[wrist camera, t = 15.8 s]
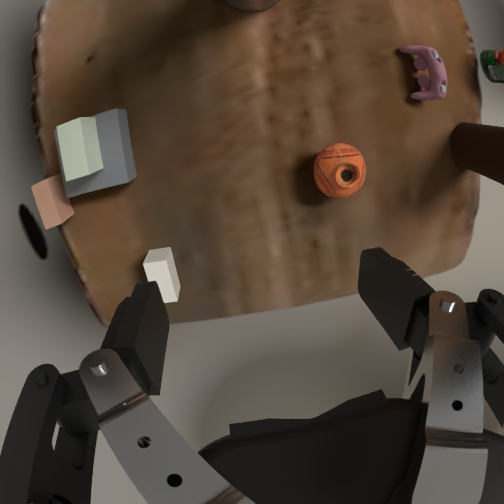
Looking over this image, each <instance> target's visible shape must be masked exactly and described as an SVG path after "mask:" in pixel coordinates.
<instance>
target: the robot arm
mask: <svg viewBox="0 0 504 504" xmlns="http://www.w3.org/2000/svg"><path fill="white" fill-rule="evenodd" d="M224 1H225V2H226V3H228V4H229V5H231V6H233V7H235V8H237V9H240V10H245V11H261V10H265V9H268V8H270V7H273V6H274V5H275V4H277V3H278V2H279V0H224ZM358 291H359V294H360V297H361V298H362V300H363V301H364V302H365V304H366V305H367V306H368V308H369V309H370V310H371V312H372V313H373V315H374V316H375V317H376V319H377V320H378V321H379V323H380V324H381V326H382V327H383V328H384V330H385V331H386V332H387V334H388V335H389V337H390V338H391V340H392V341H393V342H394V344H395V345H396V346H397V348H398V350H399V351H400V350H403V349H406V348H408V347H411V348H412V349H413V350H412V353H411V356H410V362H409V368H408V374H407V380H406V385H405V391H404V395H403V398H386V396H385V395H384V393H383V391H382V389H381V390H378V391H375V392H372V393H369V394H366V395H363V396H360V397H357V398H354V399H350V400H348V401H346V402H344V403H342V404H340V405H338V406H337V407H335V408H333V409H331V410H329V411H327V412H325V413H323V414H321V415H320V416H317V417H315V418H312V419H263V420H257V421H250V422H243V423H236V424H235V423H234V424H229V427H230V435H227V436H225V437H222V438H220V439H217V440H215V441H213V442H212V443H210V444H208V445H207V446H205V447H204V448H202V449H201V450H200V451H199V452H198V453H197V452H196V451H195V450H194V449H193V448H192V447H191V446H190V444H189V443H188V442H187V441H186V440H185V439H184V438H183V437H182V436H181V435H180V434H179V432H178V431H177V430H176V429H175V428H174V427H173V426H172V424H171V423H170V422H169V421H168V420H167V419H166V417H165V416H164V415H163V414H162V412H161V411H160V410H159V409H158V408H157V406H156V405H155V404H154V403H153V401H152V400H151V399H150V397H149V395H160V389H161V381H162V373H163V366H164V358H165V352H166V345H167V338H168V333H169V318H168V314H167V311H166V308H165V305H164V302H163V298H162V295H161V292H160V289H159V286H158V283H157V282H156V281H149V282H141V283H137V284H136V285H135V288H134V290H133V293H132V295H131V297H126V298H125V299H124V300H123V301H122V302H121V303H120V304H119V305H118V307H117V309H116V311H115V314H114V317H113V318H112V321H111V324H110V326H109V328H108V331H107V333H106V336H105V338H104V340H103V343H102V346H101V348H100V349H99V350H96V351H93V352H92V353H90V354H88V355H87V356H86V357H85V358H84V359H83V360H82V362H81V364H80V366H79V370H75V371H72V372H68V373H64V374H60V373H59V371H58V370H57V368H56V367H55V366H54V365H51V364H43V365H40V366H38V367H36V368H35V369H34V370H32V371H31V373H30V374H29V375H28V377H27V379H26V382H25V384H24V386H23V389H22V391H21V394H20V397H19V399H18V402H17V405H16V407H15V410H14V412H13V415H12V418H11V421H10V424H9V427H8V430H7V433H6V437H5V440H4V444H3V447H2V451H1V455H0V504H90V502H91V486H92V474H93V464H94V455H95V447H96V440H97V434H98V430H101V431H102V433H103V435H104V437H105V438H106V440H107V442H108V444H109V446H110V447H111V449H112V451H113V452H114V454H115V456H116V458H117V459H118V461H119V462H120V464H121V465H122V467H123V469H124V470H125V472H126V473H127V475H128V476H129V478H130V479H131V481H132V482H133V484H134V485H135V486H136V488H137V489H138V491H139V492H140V493H141V495H142V496H143V497H144V499H145V500H146V501H147V503H148V504H504V434H503V435H500V434H497V433H494V432H491V431H489V430H486V429H483V396H484V398H485V400H486V401H487V403H488V404H489V406H490V408H491V409H492V411H493V412H494V414H495V416H496V418H497V420H498V421H499V423H500V425H501V426H502V428H503V433H504V365H503V364H502V362H501V361H500V360H499V358H498V357H497V356H496V354H495V353H494V352H493V351H492V349H491V348H490V345H491V344H492V342H493V340H494V338H495V336H496V335H497V337H498V338H499V339H500V340H501V341H502V342H503V344H504V295H503V294H501V293H500V292H498V291H496V290H493V289H484V290H482V291H481V292H480V294H479V296H478V299H477V302H468V303H464V301H463V300H462V299H461V298H460V297H459V296H458V295H456V294H454V293H452V292H449V291H435V290H434V289H433V288H432V287H430V286H429V285H428V284H427V283H426V282H425V281H424V280H423V279H422V278H421V277H420V276H418V275H417V274H416V273H415V272H414V271H413V270H411V268H410V267H408V266H407V265H406V264H405V263H404V262H402V261H400V260H398V259H396V258H394V257H391V256H390V255H389V254H388V253H387V252H386V251H385V250H383V249H382V248H380V247H378V248H372V249H366V250H363V251H362V253H361V257H360V268H359V278H358ZM56 423H57V424H58V425H59V426H60V427H59V432H58V436H57V441H56V445H55V450H53V447H52V438H53V434H54V429H55V425H56Z"/></svg>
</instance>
